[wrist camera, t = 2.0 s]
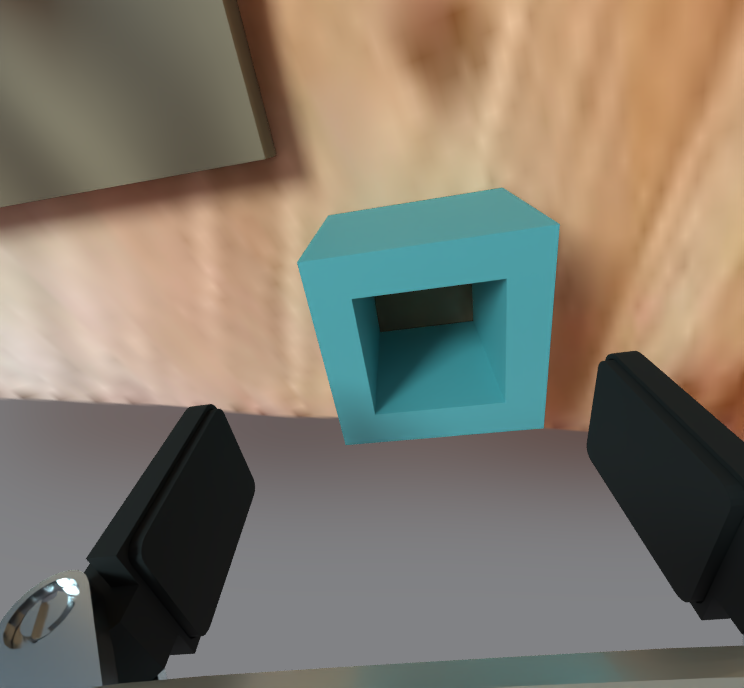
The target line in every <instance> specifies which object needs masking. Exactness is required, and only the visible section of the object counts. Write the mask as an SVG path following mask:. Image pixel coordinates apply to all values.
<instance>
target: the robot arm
mask: <svg viewBox="0 0 744 688" xmlns="http://www.w3.org/2000/svg"><path fill="white" fill-rule="evenodd" d="M587 452H588V455H589V458H590V460H591V461H592V463H593V464H594V466H595V467H596V469H597V471H598V472H599V474H600V475H601V477H602V478H603V480H604V482H605V483H606V485H607V486H608V488H609V489H610V491H611V492H612V494H613V496H614V497H615V499H616V500H617V502H618V503H619V505H620V507H621V508H622V510H623V511H624V513H625V514H626V516H627V518H628V519H629V521H630V522H631V524H632V525H633V527H634V529H635V530H636V532H637V533H638V535H639V536H640V538H641V540H642V541H643V543H644V544H645V546H646V547H647V549H648V550H649V552H650V554H651V555H652V557H653V558H654V560H655V561H656V563H657V565H658V566H659V568H660V569H661V571H662V572H663V574H664V576H665V577H666V579H667V580H668V582H669V583H670V585H671V586H672V588H673V590H674V591H675V593H676V594H677V595H678V597H680V599H681V600H683V601H684V602H690V603H691V605H692V606H693V608H694V609H695V611H696V612H697V614H698V615H699V617H700V619H701V620H713V619H728V618H731V620H732V621H733V622H734V624H735V625H736V626H737V628H738V629H739V631H740V632H741V633H742V634H743V641H742V646H724V647H723V646H722V647H696V648H669V649H668V648H667V649H650V650H631V651H612V652H594V653H575V654H557V655H539V656H521V657H503V658H486V659H469V660H453V661H437V662H420V663H404V664H386V665H370V666H354V667H337V668H322V669H306V670H292V671H276V672H261V673H245V674H231V675H216V676H201V677H189V678H179V679H167V677H166V672H165V666H166V663H167V661H168V658H169V655H180V654H194V653H195V652H196V649H197V645H198V642H199V640H200V637H201V636H204V635H205V634H206V633H207V631H208V630H209V627H210V625H211V622H212V619H213V616H214V613H215V610H216V607H217V604H218V601H219V598H220V595H221V592H222V589H223V586H224V583H225V580H226V577H227V574H228V571H229V568H230V565H231V562H232V559H233V556H234V553H235V550H236V547H237V544H238V541H239V538H240V535H241V532H242V529H243V526H244V523H245V520H246V517H247V514H248V511H249V508H250V505H251V502H252V499H253V496H254V492H255V483H254V479H253V477H252V475H251V472H250V470H249V468H248V466H247V463H246V461H245V459H244V457H243V455H242V453H241V450H240V448H239V446H238V443H237V441H236V439H235V437H234V434H233V432H232V430H231V428H230V425H229V423H228V421H227V419H226V417H225V414H224V412H223V411H222V410H221V409H217V408H216V407H215V406H214V405H212V404H208V405H200V406H192V407H189V408H188V409H187V410H186V411H185V412H184V414H183V415H182V417H181V418H180V420H179V421H178V423H177V424H176V426H175V427H174V429H173V430H172V432H171V433H170V435H169V436H168V438H167V439H166V441H165V442H164V443H163V445H162V447H161V448H160V450H159V451H158V453H157V454H156V455H155V457H154V458H153V460H152V461H151V463H150V464H149V466H148V467H147V469H146V471H145V472H144V473H143V475H142V476H141V478H140V479H139V481H138V482H137V484H136V485H135V487H134V488H133V490H132V491H131V493H130V494H129V496H128V497H127V498H126V500H125V501H124V503H123V505H122V506H121V507H120V509H119V510H118V512H117V513H116V515H115V516H114V518H113V519H112V521H111V522H110V524H109V525H108V527H107V528H106V530H105V531H104V533H103V534H102V536H101V537H100V539H99V540H98V542H97V543H96V545H95V546H94V548H93V549H92V550H91V552H90V554H89V555H88V557H87V558H86V559H87V560H88V561H89V563H90V564H89V566H88V567H87V569H86V571H85V572H84V573H82V572H80V571H79V570H71V571H70V570H68V571H65V572H61V573H58V574H55V575H53V576H51V577H49V578H47V579H46V580H44V581H42V582H40V583H39V584H37V585H36V586H35V587H33V588H32V589H30V590H29V591H28V592H27V593H26V594H24V595H23V596H22V597H21V598H20V599H19V600H18V601H17V602H16V603H15V604H14V605H13V606H12V608H11V609H10V610H9V611H8V612H7V614H6V615H5V616H4V617H3V619H2V621H1V622H0V688H744V442H743V441H742V440H741V439H740V438H739V437H737V436H736V435H735V434H734V433H733V432H732V431H730V430H729V429H728V428H727V427H726V426H725V425H724V424H722V423H721V422H720V421H719V420H718V419H717V418H715V417H714V416H713V415H712V414H711V413H710V412H708V411H707V410H706V409H705V408H704V407H703V406H702V405H700V404H699V403H698V402H697V401H696V400H695V399H693V398H692V397H691V396H690V395H689V394H688V393H686V392H685V391H684V390H683V389H682V388H681V387H680V386H678V385H677V384H676V383H675V382H674V381H673V380H671V379H670V378H669V377H668V376H667V375H666V374H664V373H663V372H662V371H661V370H660V369H659V368H657V367H656V366H655V365H654V364H653V363H652V362H651V361H649V360H648V359H647V358H646V357H645V356H644V355H642V354H641V353H640V352H638V351H629V352H621V353H613V354H609V355H608V356H607V357H606V359H605V361H601V362H600V363H599V366H598V372H597V378H596V385H595V392H594V399H593V405H592V412H591V419H590V425H589V432H588V439H587Z"/></svg>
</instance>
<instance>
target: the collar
mask: <svg viewBox="0 0 744 688" xmlns="http://www.w3.org/2000/svg"><path fill="white" fill-rule="evenodd" d="M559 226H560V224H559V223H557V222H555V221H554V220H552V219H551V218H549V217H548V216H546V215H544V214H543V213H541V212H540V211H538V210H537V209H535V208H534V207H532V206H530V205H529V204H527V203H526V202H524V201H523V200H521V199H519V198H518V197H516V196H515V195H513V194H512V193H510V192H509V191H507V190H505V189H504V188H498V189H491V190H485V191H479V192H473V193H466V194H460V195H454V196H448V197H441V198H435V199H429V200H423V201H416V202H410V203H404V204H398V205H391V206H385V207H379V208H372V209H366V210H360V211H354V212H347V213H341V214H335V215H329V216H328V217H327V218H326V220H325V221H324V223H323V224H322V226H321V227H320V229H319V230H318V232H317V233H316V235H315V236H314V238H313V239H312V241H311V242H310V244H309V245H308V247H307V248H306V250H305V251H304V253H303V254H302V256H301V257H300V259H299V260H298V262H297V264H298V268H299V271H300V275H301V279H302V283H303V286H304V290H305V294H306V298H307V301H308V305H309V309H310V313H311V316H312V320H313V324H314V328H315V331H316V335H317V339H318V343H319V346H320V350H321V354H322V358H323V361H324V365H325V369H326V373H327V376H328V380H329V384H330V388H331V391H332V395H333V399H334V403H335V406H336V410H337V414H338V418H339V421H340V425H341V429H342V433H343V436H344V440H345V444H346V445H352V444H364V443H375V442H388V441H399V440H411V439H423V438H435V437H446V436H458V435H470V434H481V433H493V432H505V431H517V430H529V429H541V428H544V417H545V405H546V392H547V379H548V366H549V354H550V341H551V328H552V315H553V303H554V290H555V277H556V264H557V252H558V239H559ZM470 283H472V299H473V321H468V322H460V323H452V324H443V325H435V326H427V327H418V328H410V329H402V330H393V331H385V332H380V328H379V322H378V316H377V311H376V305H375V299H374V296H379V295H387V294H394V293H402V292H409V291H417V290H425V289H432V288H440V287H447V286H455V285H462V284H470Z"/></svg>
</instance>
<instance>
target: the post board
mask: <svg viewBox="0 0 744 688" xmlns="http://www.w3.org/2000/svg"><path fill="white" fill-rule="evenodd" d="M273 156H276V152H275V148H274V144H273V140H272V136H271V132H270V128H269V125H268V121H267V117H266V113H265V109H264V105H263V101H262V97H261V94H260V90H259V86H258V82H257V78H256V74H255V70H254V66H253V63H252V59H251V55H250V51H249V47H248V43H247V39H246V35H245V31H244V28H243V24H242V20H241V16H240V12H239V8H238V4H237V0H0V207H5V206H10V205H16V204H21V203H27V202H32V201H38V200H43V199H49V198H54V197H60V196H65V195H71V194H76V193H82V192H87V191H93V190H98V189H104V188H109V187H115V186H120V185H126V184H131V183H137V182H142V181H148V180H153V179H159V178H164V177H170V176H175V175H181V174H186V173H192V172H197V171H203V170H208V169H214V168H219V167H225V166H230V165H236V164H241V163H247V162H252V161H258V160H263V159H267V158H270V157H273Z"/></svg>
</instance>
